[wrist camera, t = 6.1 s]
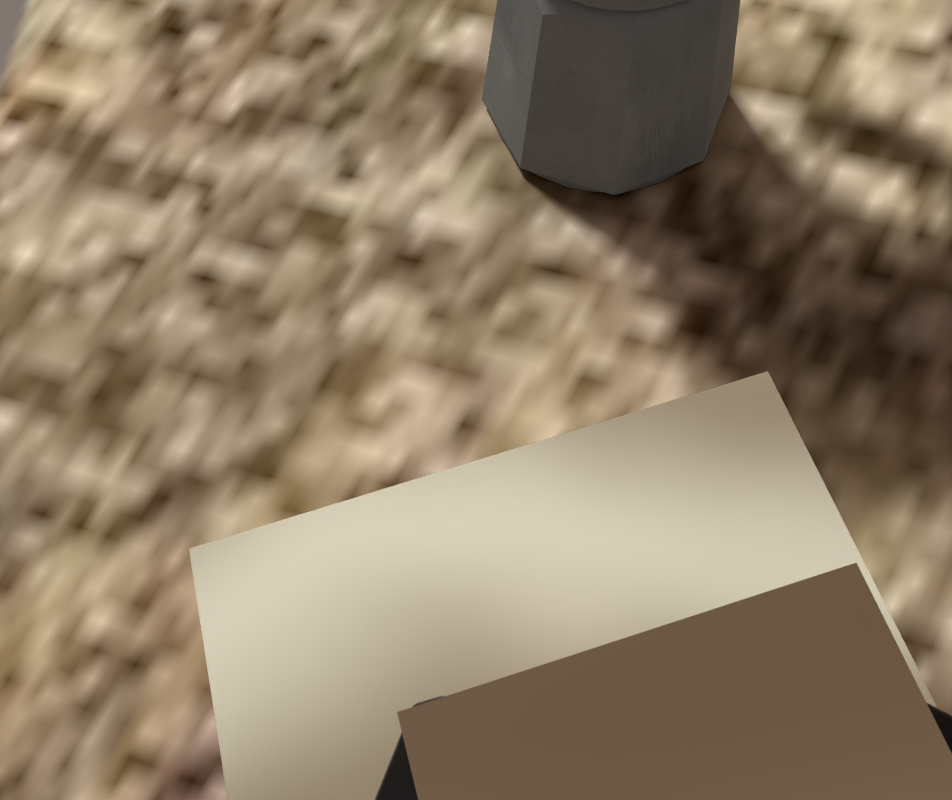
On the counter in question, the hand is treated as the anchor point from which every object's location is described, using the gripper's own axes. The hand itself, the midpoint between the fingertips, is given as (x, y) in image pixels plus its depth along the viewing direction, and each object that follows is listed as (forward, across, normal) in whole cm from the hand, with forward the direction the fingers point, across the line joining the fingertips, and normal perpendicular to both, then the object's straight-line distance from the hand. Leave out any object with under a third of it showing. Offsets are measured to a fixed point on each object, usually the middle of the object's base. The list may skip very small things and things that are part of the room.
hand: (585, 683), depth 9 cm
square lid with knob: (+3, 0, +5) cm, 6 cm away
